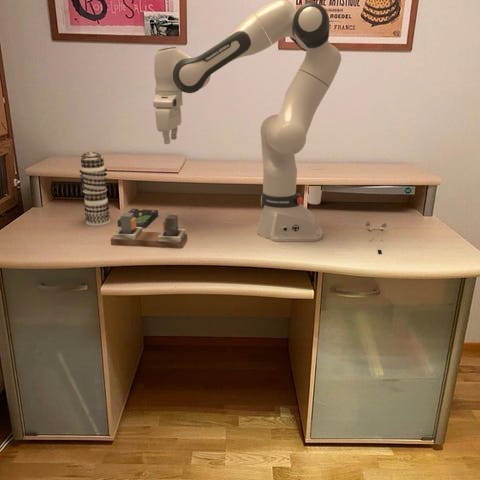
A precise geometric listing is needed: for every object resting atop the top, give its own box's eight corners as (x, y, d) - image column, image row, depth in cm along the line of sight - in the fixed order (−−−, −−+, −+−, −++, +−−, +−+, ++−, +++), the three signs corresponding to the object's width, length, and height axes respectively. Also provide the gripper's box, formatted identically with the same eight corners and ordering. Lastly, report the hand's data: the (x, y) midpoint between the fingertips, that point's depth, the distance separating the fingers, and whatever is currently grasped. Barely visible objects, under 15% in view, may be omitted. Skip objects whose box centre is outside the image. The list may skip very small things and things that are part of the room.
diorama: (387, 228, 172) (388, 219, 170) (395, 256, 147) (397, 246, 146) (361, 226, 173) (362, 217, 172) (364, 254, 149) (366, 243, 148)
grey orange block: (122, 236, 153) (120, 216, 151) (126, 232, 157) (124, 212, 155) (133, 237, 153) (132, 216, 150) (137, 233, 157) (136, 212, 154)
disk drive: (132, 215, 183) (117, 227, 169) (131, 208, 182) (117, 220, 168) (158, 217, 181) (145, 229, 167) (158, 209, 180) (145, 221, 166)
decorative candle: (111, 225, 170) (105, 155, 161) (84, 226, 168) (76, 156, 159) (111, 217, 178) (105, 150, 169) (85, 218, 176) (78, 151, 167)
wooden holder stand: (187, 239, 158) (186, 213, 154) (181, 248, 150) (181, 221, 147) (119, 235, 160) (117, 210, 157) (111, 244, 152) (108, 217, 149)
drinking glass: (305, 200, 203) (308, 165, 197) (321, 201, 202) (324, 166, 197) (305, 205, 196) (308, 169, 191) (322, 205, 196) (325, 169, 190)
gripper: (167, 97, 169) (169, 136, 174) (151, 102, 150) (153, 146, 155) (185, 97, 168) (186, 137, 173) (171, 102, 149) (172, 146, 154)
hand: (170, 141), depth 164 cm, fingers open, 8 cm apart
